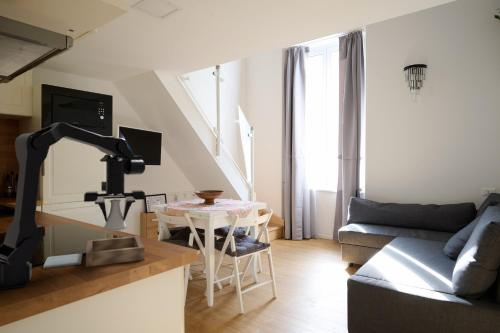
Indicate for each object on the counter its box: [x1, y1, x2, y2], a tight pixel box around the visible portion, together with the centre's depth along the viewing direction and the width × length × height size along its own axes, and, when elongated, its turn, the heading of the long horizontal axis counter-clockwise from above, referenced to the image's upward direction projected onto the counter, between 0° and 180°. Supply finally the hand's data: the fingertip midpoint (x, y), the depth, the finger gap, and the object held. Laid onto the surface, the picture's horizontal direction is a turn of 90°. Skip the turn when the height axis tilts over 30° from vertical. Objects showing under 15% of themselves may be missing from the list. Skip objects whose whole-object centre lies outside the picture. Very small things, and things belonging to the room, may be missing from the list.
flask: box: [103, 199, 128, 232], centre depth 106 cm, size 7×7×10 cm
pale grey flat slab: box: [42, 252, 83, 269], centre depth 100 cm, size 10×10×1 cm
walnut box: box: [85, 235, 145, 268], centre depth 107 cm, size 17×17×4 cm
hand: (115, 221), depth 107 cm, fingers closed on flask, 5 cm apart
